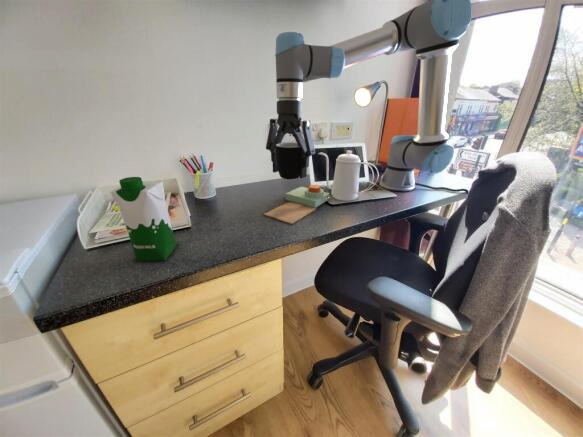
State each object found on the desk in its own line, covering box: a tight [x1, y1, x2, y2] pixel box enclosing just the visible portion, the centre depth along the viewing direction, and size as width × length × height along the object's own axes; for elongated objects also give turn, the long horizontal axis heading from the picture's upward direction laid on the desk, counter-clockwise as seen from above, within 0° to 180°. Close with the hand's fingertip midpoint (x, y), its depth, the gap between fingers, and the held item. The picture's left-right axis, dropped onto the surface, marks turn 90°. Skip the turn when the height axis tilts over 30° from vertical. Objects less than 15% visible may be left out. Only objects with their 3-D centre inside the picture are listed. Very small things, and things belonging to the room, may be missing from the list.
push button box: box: [284, 186, 331, 209], centre depth 94 cm, size 14×11×4 cm
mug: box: [276, 142, 302, 180], centre depth 77 cm, size 12×9×10 cm
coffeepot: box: [317, 149, 380, 202], centre depth 94 cm, size 11×25×19 cm, turn 62°
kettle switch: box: [308, 184, 321, 193], centre depth 91 cm, size 4×4×2 cm
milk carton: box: [110, 176, 178, 262], centre depth 56 cm, size 9×9×20 cm
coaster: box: [263, 200, 317, 225], centre depth 84 cm, size 12×15×1 cm
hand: (289, 174), depth 78 cm, fingers closed on mug, 10 cm apart
